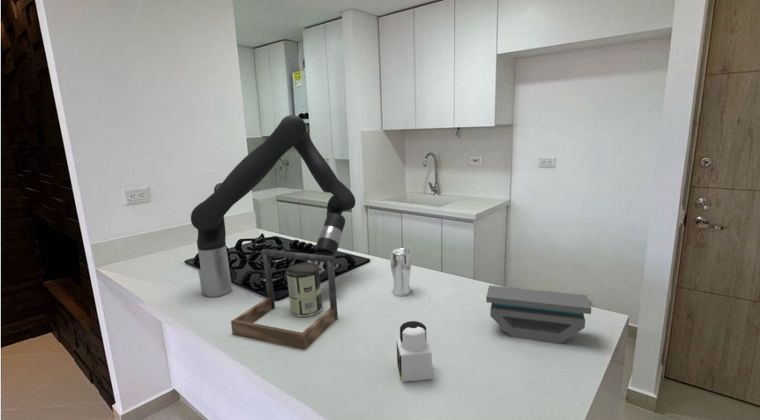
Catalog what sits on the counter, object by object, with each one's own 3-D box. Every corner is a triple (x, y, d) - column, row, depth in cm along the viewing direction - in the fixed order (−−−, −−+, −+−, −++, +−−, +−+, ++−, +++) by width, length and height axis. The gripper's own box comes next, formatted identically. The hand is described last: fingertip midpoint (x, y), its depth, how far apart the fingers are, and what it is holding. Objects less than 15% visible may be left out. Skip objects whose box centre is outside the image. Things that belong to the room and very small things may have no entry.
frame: (271, 306, 129) (265, 248, 125) (339, 317, 119) (334, 255, 115) (231, 333, 113) (222, 268, 108) (306, 349, 103) (299, 278, 99)
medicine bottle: (397, 364, 95) (395, 319, 93) (426, 361, 96) (425, 316, 93) (401, 383, 88) (399, 334, 86) (432, 380, 89) (431, 332, 86)
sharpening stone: (583, 332, 106) (586, 295, 103) (588, 348, 99) (591, 308, 96) (488, 320, 114) (489, 285, 112) (485, 333, 107) (486, 296, 105)
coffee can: (308, 299, 133) (305, 260, 130) (329, 307, 126) (326, 266, 123) (283, 311, 125) (279, 269, 122) (304, 320, 119) (300, 277, 115)
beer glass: (412, 288, 138) (411, 247, 135) (411, 296, 132) (410, 254, 128) (392, 288, 139) (390, 247, 136) (390, 296, 132) (389, 254, 129)
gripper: (307, 235, 137) (291, 281, 129) (341, 237, 132) (326, 286, 124) (316, 245, 143) (301, 289, 135) (349, 247, 138) (335, 294, 130)
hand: (313, 288), depth 129 cm, fingers closed
